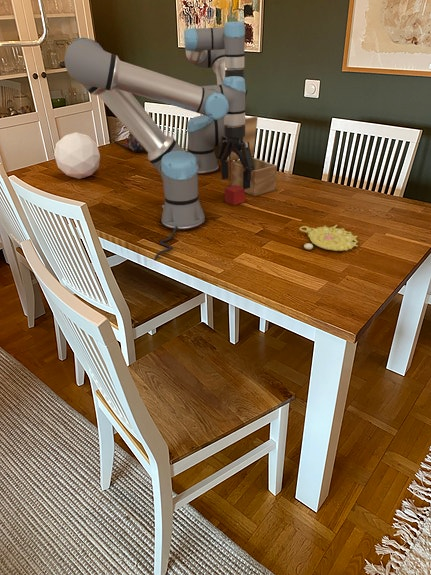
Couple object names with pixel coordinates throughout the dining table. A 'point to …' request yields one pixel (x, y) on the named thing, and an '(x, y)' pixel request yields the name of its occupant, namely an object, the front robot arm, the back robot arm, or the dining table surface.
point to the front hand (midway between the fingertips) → (235, 183)
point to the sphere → (77, 155)
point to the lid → (248, 135)
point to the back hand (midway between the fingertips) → (234, 132)
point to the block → (234, 195)
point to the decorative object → (330, 238)
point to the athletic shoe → (134, 144)
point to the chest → (255, 176)
